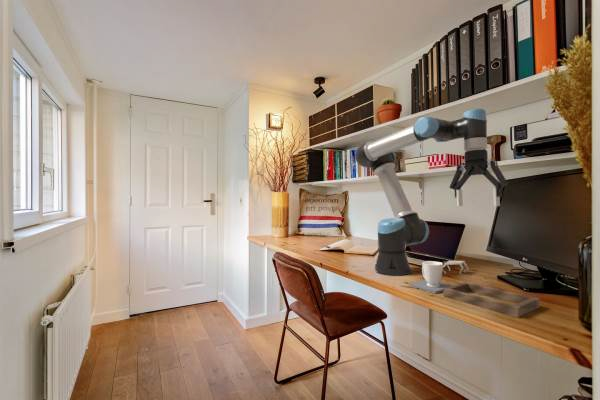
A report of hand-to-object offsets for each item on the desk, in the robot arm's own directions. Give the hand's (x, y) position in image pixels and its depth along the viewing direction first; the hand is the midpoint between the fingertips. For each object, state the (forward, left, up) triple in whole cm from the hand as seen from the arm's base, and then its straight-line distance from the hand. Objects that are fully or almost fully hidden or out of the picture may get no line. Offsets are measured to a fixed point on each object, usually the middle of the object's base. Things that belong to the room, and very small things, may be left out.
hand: (477, 206), depth 110 cm
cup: (-6, -20, -28) cm, 35 cm away
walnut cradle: (+13, -20, -29) cm, 37 cm away
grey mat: (-6, -21, -29) cm, 36 cm away
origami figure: (-13, +4, -29) cm, 32 cm away
